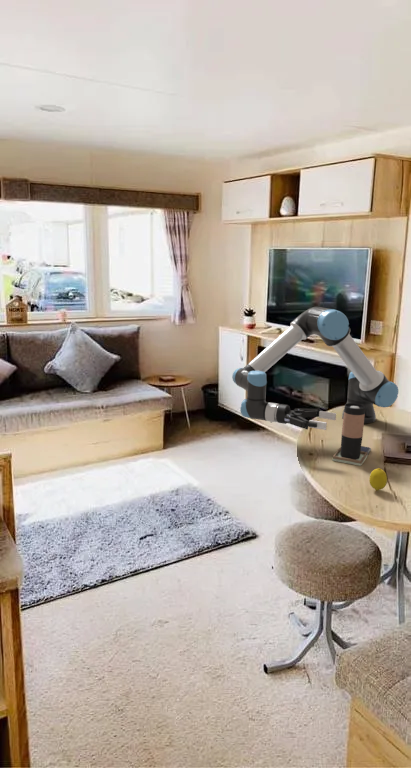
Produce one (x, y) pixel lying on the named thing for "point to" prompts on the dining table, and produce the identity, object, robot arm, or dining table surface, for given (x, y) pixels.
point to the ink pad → (365, 449)
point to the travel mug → (352, 430)
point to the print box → (351, 461)
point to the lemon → (378, 479)
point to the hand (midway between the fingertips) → (331, 421)
